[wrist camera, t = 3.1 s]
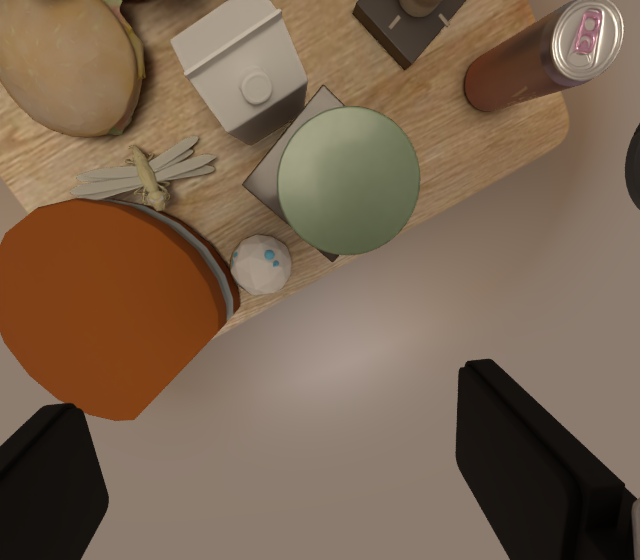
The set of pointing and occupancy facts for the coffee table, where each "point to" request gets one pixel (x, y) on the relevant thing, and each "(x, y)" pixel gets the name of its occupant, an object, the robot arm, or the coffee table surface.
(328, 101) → the plinth
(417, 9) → the knob
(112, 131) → the burger
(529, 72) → the beverage can
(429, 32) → the panel
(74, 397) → the orange rounded case
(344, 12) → the coffee table surface
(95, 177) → the toy
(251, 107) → the milk carton
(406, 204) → the tin
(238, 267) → the ornament
